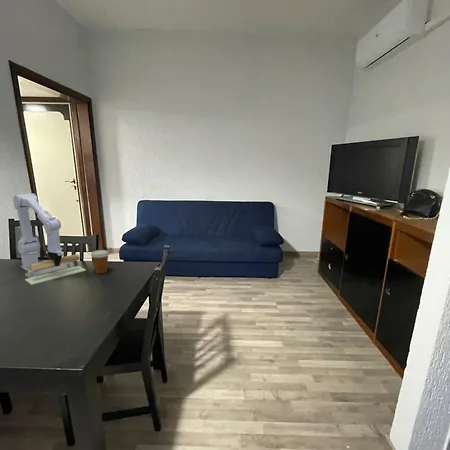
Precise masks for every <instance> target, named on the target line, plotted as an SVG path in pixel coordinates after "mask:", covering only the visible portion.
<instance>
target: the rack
mask: <svg viewBox="0 0 450 450" xmlns="http://www.w3.org/2000/svg"><path fill="white" fill-rule="evenodd" d="M66 256H67V255H65V256H64V257H66ZM71 263H72V262H69V263H65V264H61V265H60V266H52V267H48V268H44V269H39V270H35V271H32V270H30V265H29V264H28V265H26V270H25V271H27V272H26V273H24V275H25V276H26V277H27V278H33V277H37V276H41V275H45V274H49V273H53V272H57V271H61V270H65V269H69V268H73V267H74V265H72V264H71Z"/></svg>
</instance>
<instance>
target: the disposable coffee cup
mask: <svg viewBox="0 0 450 450" xmlns="http://www.w3.org/2000/svg"><path fill="white" fill-rule="evenodd" d="M90 255H91V258H92V265H93V268H94V272H95V274H97V275H98V274H100V273H102V274H105V273H107V271H108V264H109V263H108V262H109V255H110V253H109V251H108V250H105V249H97V250H93V251H92V252H91V253H90Z"/></svg>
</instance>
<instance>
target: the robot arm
mask: <svg viewBox="0 0 450 450" xmlns="http://www.w3.org/2000/svg"><path fill="white" fill-rule="evenodd" d="M12 201H13V206H14V210H17V216H18V220H19V225H20V232H21V238H20V239H19V240H18V241H17V251H18V253H19V254H20V255H21V258H20V259H21V264H22V265H20V267H21V268H22V269H23V270H25V271H27V270H26V265H28V264H29V265H30V264H33V263H38V262H39V258H38V253H39V251H40V250H41V244H40V242H39V239H38V238H37V237H36V236H34V235H33V229H32V224H31V219H30V213H29V210H30V209H31V210H33V211H34V212H35V213H36V214H37V215H36V217H37V219H38V220H39V221H40V222H41V223H42V224H43V229H44V232H45V234H46V237H47V251H48V252H47V253H46V254H47V255H48V258H49V260H52V259H53V260H54V264H55V266H60V262H61V258H62V257H64V253H63V251H62V250H63V249H64V247H62V246H61V240H60V229H61V228H62V223H61V221H60V219H58V218H55V217H53V216H52V215H51V213H49V211H48V210H45V209H43V207H42V206H41V205H40V203H39V202H38V201H39V200H38V196H37V195H36V194H35V193H23V194H22V193H21V194H14V196H13V198H12ZM55 266H54V267H55Z"/></svg>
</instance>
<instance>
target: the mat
mask: <svg viewBox="0 0 450 450" xmlns="http://www.w3.org/2000/svg"><path fill="white" fill-rule="evenodd" d="M86 271H87V270H86V268H83V267H82V266H80V265H77V266H73V268H69V269H65V270H61V271H57V272H53V273H49V274H45V275H41V276H37V277H33V278H29V277H27V278H25V279H24V280H25V282H27V283H28V284H30V285H31V286H32V285H38V284H40V283H44V282H48V281H52V280H55V279H59V278H64V277H68V276H71V275H74V274H78V273H82V272H86Z"/></svg>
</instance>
